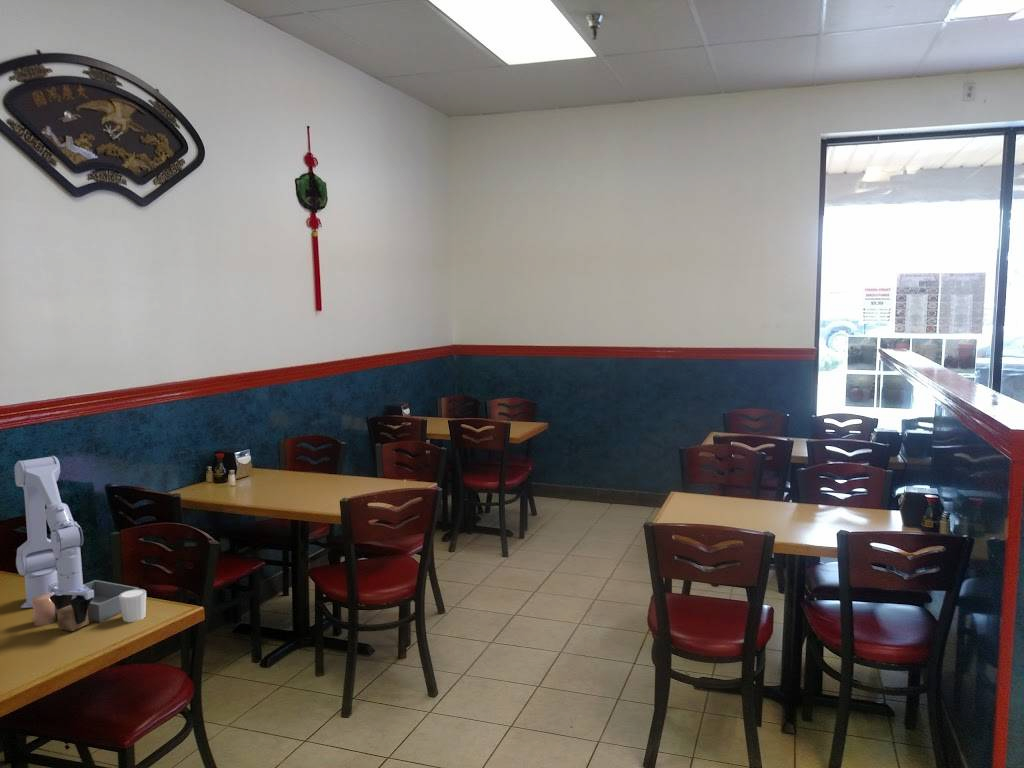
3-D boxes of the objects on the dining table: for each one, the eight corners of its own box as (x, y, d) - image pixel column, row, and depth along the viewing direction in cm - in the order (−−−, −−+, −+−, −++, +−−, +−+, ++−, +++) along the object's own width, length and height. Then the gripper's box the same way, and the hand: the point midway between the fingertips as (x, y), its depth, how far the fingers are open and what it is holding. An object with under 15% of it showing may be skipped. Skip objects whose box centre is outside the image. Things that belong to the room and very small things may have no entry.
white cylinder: (114, 620, 209) (112, 595, 208) (137, 611, 215) (135, 587, 214) (131, 625, 206) (129, 599, 205) (153, 615, 212) (151, 591, 211)
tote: (55, 613, 214) (53, 596, 213) (96, 596, 226) (95, 579, 225) (99, 622, 207) (98, 604, 207) (139, 604, 220) (138, 587, 219)
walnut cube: (58, 628, 203) (57, 610, 202) (75, 620, 208) (74, 603, 207) (72, 631, 201) (70, 613, 200) (88, 623, 206) (87, 605, 205)
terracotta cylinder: (39, 619, 210) (37, 594, 210) (58, 617, 211) (56, 593, 210) (31, 626, 206) (28, 601, 205) (51, 625, 206) (49, 600, 206)
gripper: (36, 573, 202) (40, 622, 203) (75, 580, 196) (79, 631, 198) (60, 564, 208) (64, 612, 210) (99, 571, 203) (103, 620, 204)
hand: (73, 620), depth 204 cm, fingers closed on walnut cube, 5 cm apart
